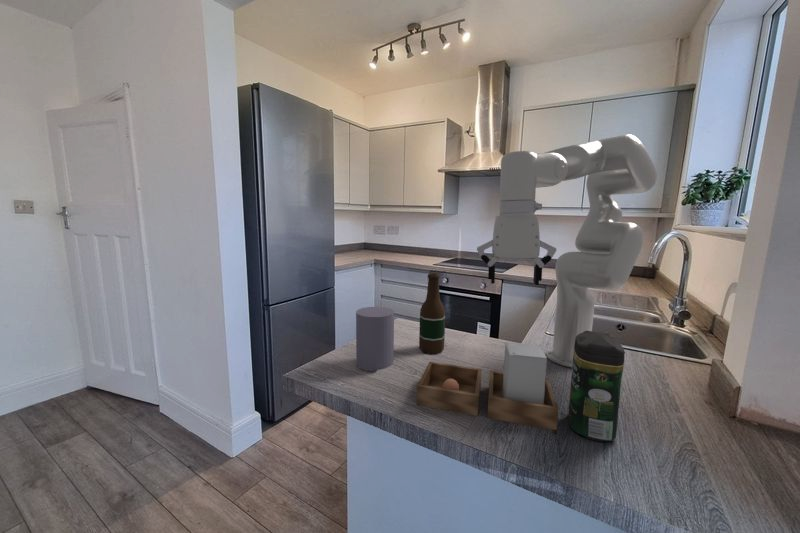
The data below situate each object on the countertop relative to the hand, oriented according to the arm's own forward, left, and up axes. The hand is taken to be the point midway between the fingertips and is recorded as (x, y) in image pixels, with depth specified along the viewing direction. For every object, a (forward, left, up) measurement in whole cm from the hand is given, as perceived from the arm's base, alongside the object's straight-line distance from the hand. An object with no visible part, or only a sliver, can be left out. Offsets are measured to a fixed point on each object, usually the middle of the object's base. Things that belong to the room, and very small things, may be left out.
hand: (514, 283), depth 75 cm
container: (+35, 0, -26) cm, 43 cm away
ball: (+13, +11, -25) cm, 30 cm away
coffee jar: (-15, +13, -26) cm, 32 cm away
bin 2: (-2, +11, -25) cm, 27 cm away
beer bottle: (+22, -15, -26) cm, 37 cm away
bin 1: (+13, +11, -25) cm, 30 cm away
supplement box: (-2, +10, -25) cm, 27 cm away
